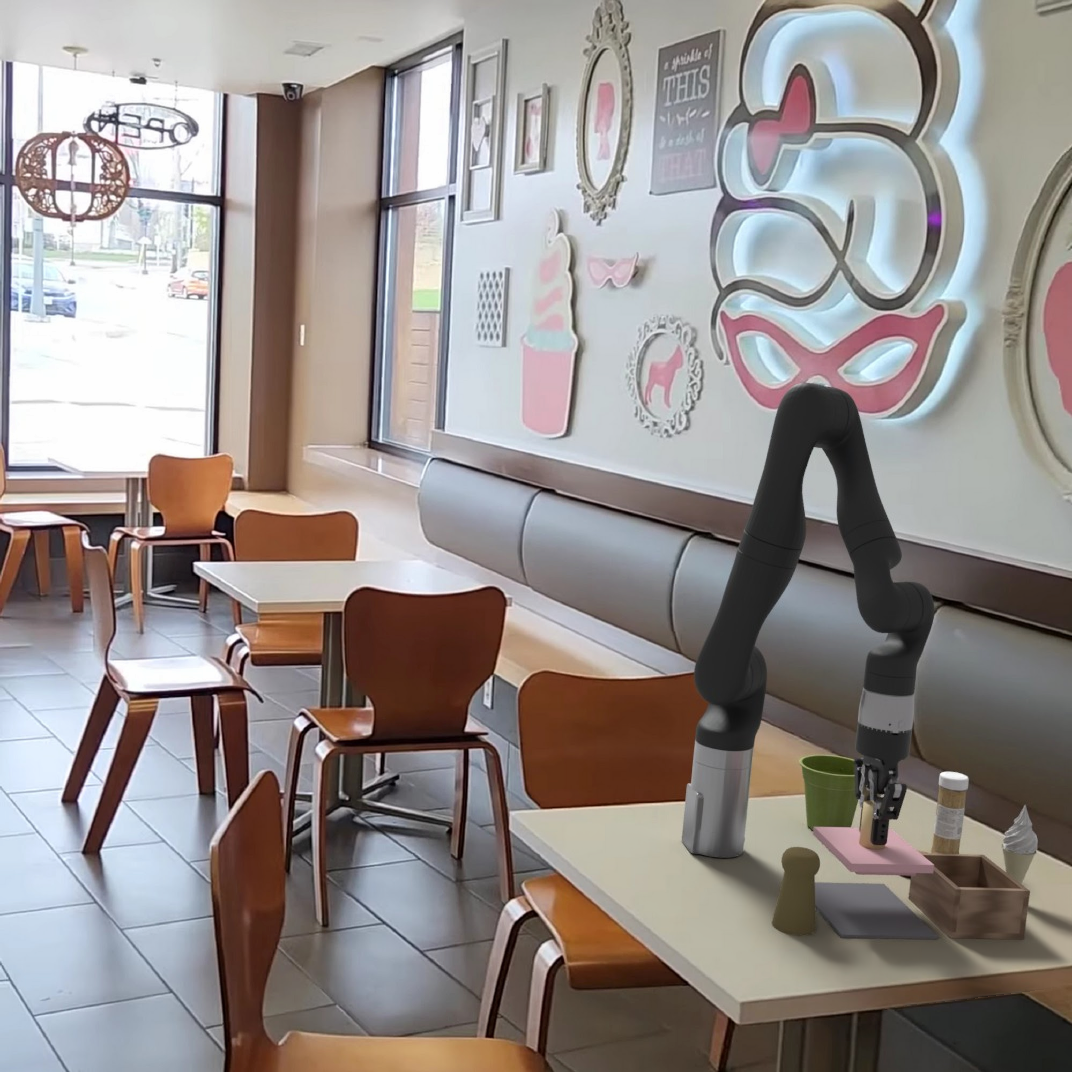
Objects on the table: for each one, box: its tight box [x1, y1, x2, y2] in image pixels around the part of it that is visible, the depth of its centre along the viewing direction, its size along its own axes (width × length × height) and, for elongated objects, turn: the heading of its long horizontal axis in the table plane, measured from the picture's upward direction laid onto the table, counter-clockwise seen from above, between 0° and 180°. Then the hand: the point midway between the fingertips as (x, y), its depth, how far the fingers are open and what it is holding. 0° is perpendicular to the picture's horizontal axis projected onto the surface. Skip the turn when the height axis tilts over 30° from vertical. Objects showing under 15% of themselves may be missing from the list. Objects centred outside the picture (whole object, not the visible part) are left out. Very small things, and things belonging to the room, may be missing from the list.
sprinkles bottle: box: [930, 771, 970, 854], centre depth 225 cm, size 5×5×14 cm
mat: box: [815, 881, 939, 940], centre depth 199 cm, size 14×19×1 cm
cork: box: [771, 846, 821, 936], centre depth 191 cm, size 6×6×11 cm
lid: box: [812, 801, 934, 876], centre depth 198 cm, size 12×15×8 cm
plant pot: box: [798, 754, 860, 831], centre depth 234 cm, size 12×12×11 cm
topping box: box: [908, 852, 1031, 940], centre depth 199 cm, size 11×14×7 cm
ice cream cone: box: [1000, 804, 1039, 885], centre depth 207 cm, size 5×5×15 cm
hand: (872, 838), depth 198 cm, fingers closed on lid, 3 cm apart
